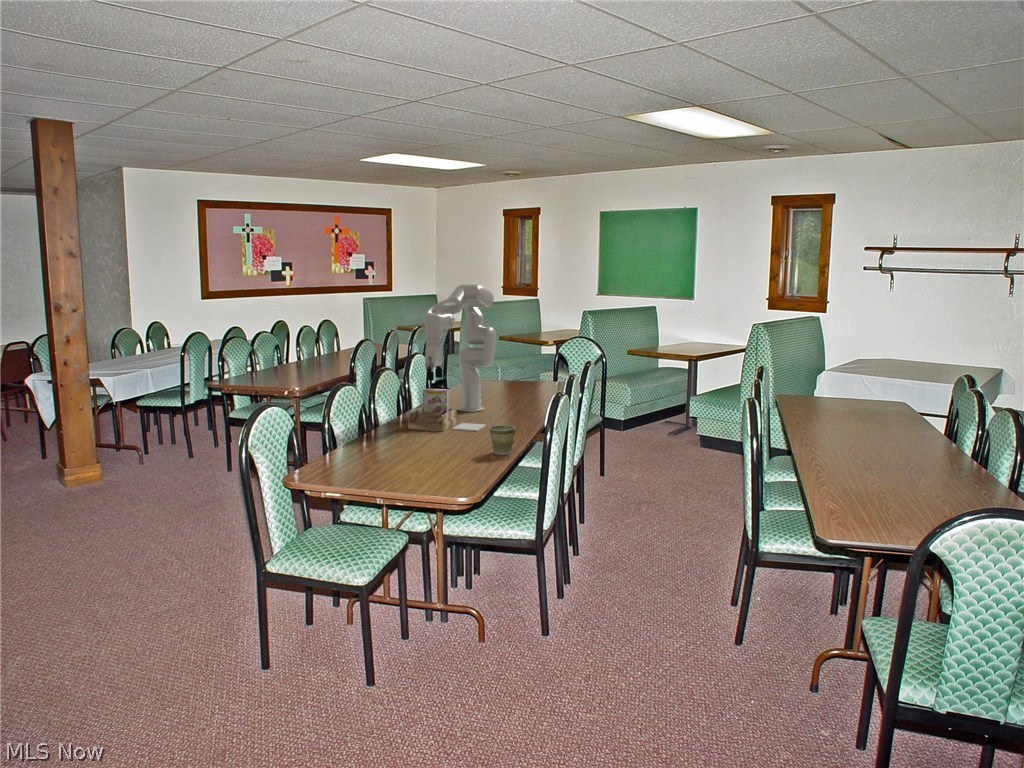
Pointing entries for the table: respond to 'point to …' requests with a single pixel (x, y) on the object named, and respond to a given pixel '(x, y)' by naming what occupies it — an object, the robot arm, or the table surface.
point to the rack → (446, 422)
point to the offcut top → (429, 416)
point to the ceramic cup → (503, 438)
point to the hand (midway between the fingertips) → (434, 379)
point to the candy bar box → (436, 400)
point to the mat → (469, 427)
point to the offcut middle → (430, 421)
